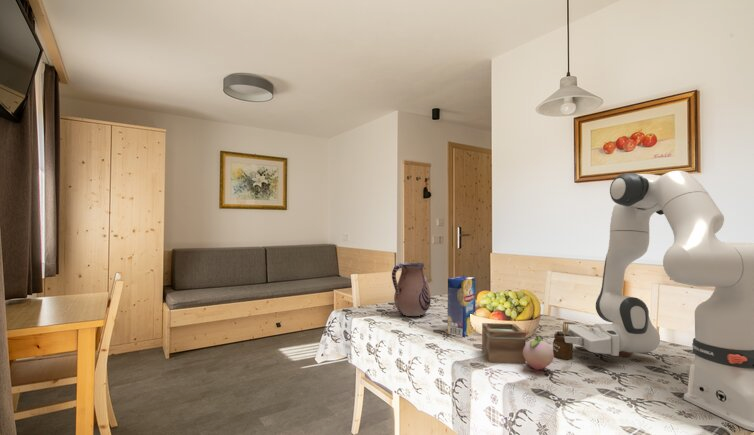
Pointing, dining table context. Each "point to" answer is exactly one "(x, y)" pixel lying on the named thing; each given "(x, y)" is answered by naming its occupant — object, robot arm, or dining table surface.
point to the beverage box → (460, 305)
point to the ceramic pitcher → (411, 289)
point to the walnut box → (503, 343)
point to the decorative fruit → (538, 353)
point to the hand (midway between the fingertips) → (559, 336)
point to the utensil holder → (562, 345)
